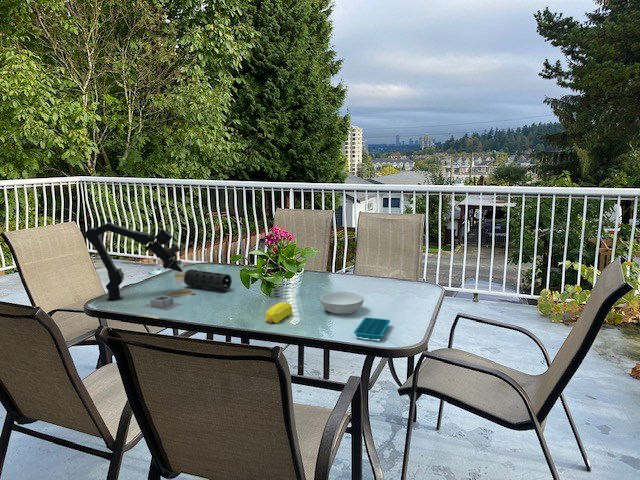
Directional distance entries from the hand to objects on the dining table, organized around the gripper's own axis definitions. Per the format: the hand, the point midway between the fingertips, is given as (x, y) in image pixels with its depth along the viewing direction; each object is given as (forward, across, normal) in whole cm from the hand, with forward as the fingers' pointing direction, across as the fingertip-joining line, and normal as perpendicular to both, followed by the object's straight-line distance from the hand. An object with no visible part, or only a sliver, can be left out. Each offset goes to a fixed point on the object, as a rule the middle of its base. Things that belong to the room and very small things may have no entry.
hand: (182, 270), depth 250 cm
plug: (+4, 0, +6) cm, 7 cm away
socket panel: (+4, -20, +16) cm, 26 cm away
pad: (+9, 0, +10) cm, 13 cm away
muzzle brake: (+19, +8, +1) cm, 20 cm away
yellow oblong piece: (+42, -50, -23) cm, 69 cm away
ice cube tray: (+68, -76, -48) cm, 113 cm away
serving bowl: (+64, -46, -45) cm, 90 cm away
